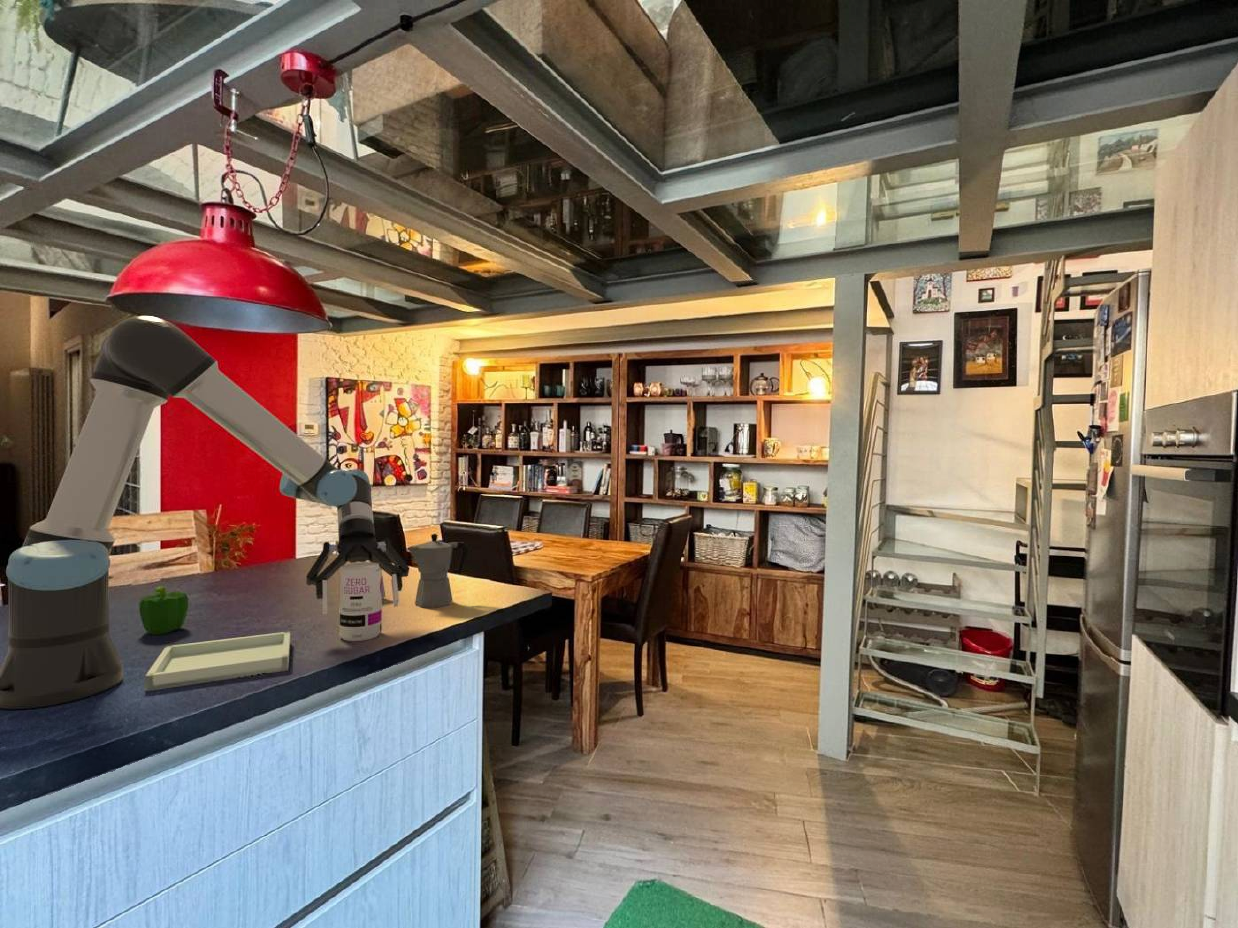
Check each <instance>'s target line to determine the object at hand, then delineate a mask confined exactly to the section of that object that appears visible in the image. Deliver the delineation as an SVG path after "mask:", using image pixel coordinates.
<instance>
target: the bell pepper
mask: <svg viewBox="0 0 1238 928" xmlns="http://www.w3.org/2000/svg"><path fill="white" fill-rule="evenodd" d="M138 604H139V605H138V606H139V614H140V618H141V619H140V620H141V623H142V625H143V626H142V627H143V628H144V630H145V631H146V632H147V633H149V634H152V635H164V634H168V633H171V632H173V631H175V630H179V629H182V626H183V625H184V623H185V620H186V617H187V614H188V609H189V597H188V595H187V593H185V592H184V593H183V592H181V591H178V590H177V591H176V590H175V591H172V592H169V593H167V590H166V588H165V587H164V586H157V587H156V588H155V590H154V593H152V594H150V595H145V596H141V598H140V599H139V603H138Z"/></svg>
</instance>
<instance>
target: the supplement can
mask: <svg viewBox="0 0 1238 928" xmlns="http://www.w3.org/2000/svg"><path fill="white" fill-rule="evenodd" d="M338 574H339V575H338V576H339V578H338V582H339V584H338V586H339V587H338V592H339V593H338V597H339V598H338V599H339V600H338V610H339V611H338V636H339V637H340V638H342V640H344V641H347V642H361V641H368V640H371V639H374V638H376V637H378V636H379V635H380V634H381V633H382V632H383V631H382V629H383V628H382V624H383V622H382V620H383V615H382V614H383V613H382V611H383V604H382V603H383V599H382V576H383V570H381V568H380V567H379V564H378V563H372V562H370V561H369V562H368V561H366V562H355V563H347V564H344V565H343V566H342V569H341V571H340V573H338Z"/></svg>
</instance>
